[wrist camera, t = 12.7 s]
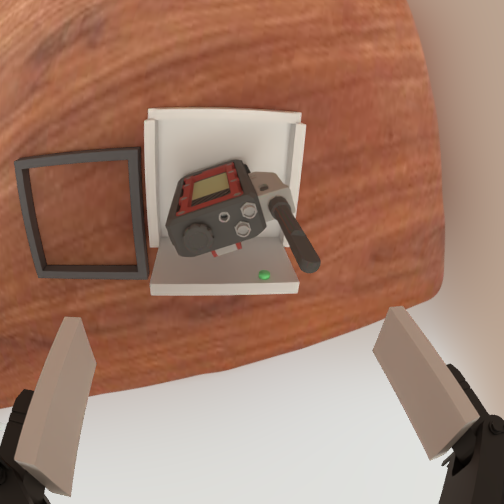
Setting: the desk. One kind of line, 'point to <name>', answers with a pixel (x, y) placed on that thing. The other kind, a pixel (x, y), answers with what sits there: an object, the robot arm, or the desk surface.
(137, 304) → the desk surface
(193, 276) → the dock
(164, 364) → the desk surface
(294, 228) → the walkie-talkie
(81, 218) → the desk surface
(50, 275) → the grey square frame
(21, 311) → the desk surface
